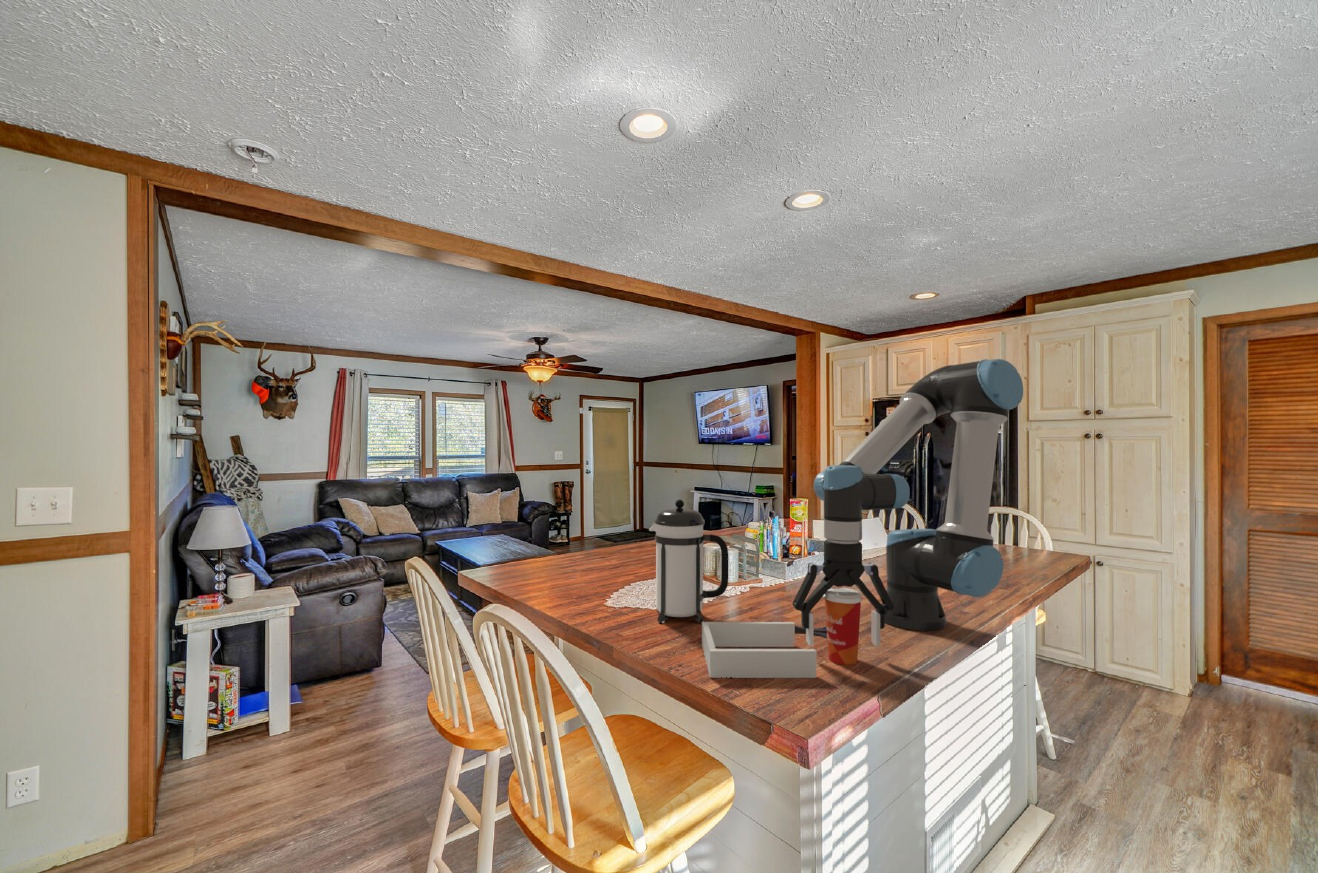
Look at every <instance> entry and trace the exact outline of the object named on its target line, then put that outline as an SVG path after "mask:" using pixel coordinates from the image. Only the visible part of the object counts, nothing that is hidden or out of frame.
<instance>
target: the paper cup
mask: <svg viewBox="0 0 1318 873" xmlns="http://www.w3.org/2000/svg"><path fill="white" fill-rule="evenodd" d="M861 596H862V595H861V593H860V592H859V590H856V589H853V588H849V587H847V588H846V587H834V588H833V587H832V588H831V589H829V590H828V591H827V592H826V593H825V594H824V595H823V597H822V598H823V599H824V606H825V607H824V609H825V621H826V622H825V625H826V626H825V627H827V638H826V640H827V643H826V644H827V655H828V660H829V661H830V662H831V663H834V664H837V665H840V666H841V665H842V666H853V665H855V664H857V662H858V657H859V656H858V655H859V640H860V639H859V637H860V621H861V605H862V602H863V598H862V597H861Z"/></svg>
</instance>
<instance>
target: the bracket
mask: <svg viewBox="0 0 1318 873" xmlns="http://www.w3.org/2000/svg"><path fill="white" fill-rule="evenodd" d="M780 622H785V621H784V620H782V621H780ZM796 633H797V634H798V633H799V634H800V633H801V634H806V629H804V628H803V626H799V625H796V624H795V634H796ZM814 636H819V637H822V638H824V639H827V627H826V626H823V627H820V628H814Z"/></svg>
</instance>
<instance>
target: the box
mask: <svg viewBox="0 0 1318 873" xmlns="http://www.w3.org/2000/svg"><path fill="white" fill-rule="evenodd" d="M795 625H796V623H795V622H794V621H784V622H781V621H703V622H701V646H702V649H703V654H704V658H705V663H706V667H707V670H708V675H709V678H710V679H719V678H720V679H723V678H724V679H728V678H729V679H731V678H730V677H732V679H742V678H743V679H746V678H747V679H765V678H766V679H774V678H775V679H776V678H777V679H805V678H806V679H808V678H809V679H816V678H817V650H816V649H815V648H794V647H795V644H796V643H795V641H796V640H795V639H796V638H795V637H796V636H795V634H796V632H795ZM716 647H719V648H716ZM723 647H729V648H723ZM730 647H731V648H730ZM733 647H734V648H733ZM735 647H736V648H735ZM738 647H740V648H738ZM742 647H743V648H742ZM745 647H746V648H745ZM747 647H748V648H747ZM749 647H750V648H749ZM751 647H754V648H751ZM756 647H757V648H756ZM759 647H761V648H759ZM762 647H764V648H762ZM768 647H770V648H768ZM772 647H775V648H772ZM782 647H783V648H782ZM789 647H790V648H789ZM721 677H722V678H721ZM726 677H727V678H726Z"/></svg>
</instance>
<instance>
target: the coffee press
mask: <svg viewBox="0 0 1318 873" xmlns="http://www.w3.org/2000/svg"><path fill="white" fill-rule="evenodd" d="M674 504H675V507H676V508H669V509H668V508H667V509H665V510H662V511H660V512H659V513H658V514H657V515H656V518H655V519H654V523H652V525H651V527H650V528H649V530H648V531H649V532H655V535H654V536H655V537H654V540H655V545H656V546H655V548H656V549H655V606H656V607H655V608H656V611H657V612H658V613H659V615H658V616H657V623H660V624H665V623H666V622H667V619H668V618H670V617H672V618H687V617H691V618H693V619H694V621H695V622H696V624H702V622H705V620H704V616H703V614H702V610H703V605H704V604H703V603H704V599H711V598H713V599H714V598H717V597H720V596H722V595H723V594H724V593H725V592H726V590H727V588H728V585H729V548H728V545H727V543H726V542H725V540H724V539H723V538H722V537H721V536H719V535H717V534H714V533H713V534H712V533H711V534H704V525H705V523H706V522H705V519H704V517H703V516H702V514H701V513H700V512H699V511H698V510H695V509H689V508H683V507H684V505H685V501H683V500H682V499H677V500H676V501H675V503H674ZM704 542H713V543H716V544H717V545H718V546H719V548H720V556H721V557H720V560H721V561H720V562H721V563H720V564H721V565H720V571H721V572H720V573H721V575H720V584H719V586H718V587H717V588H716V589H712V590H705V589H703V588H704V587H703V586H704V581H703V580H704Z"/></svg>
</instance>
